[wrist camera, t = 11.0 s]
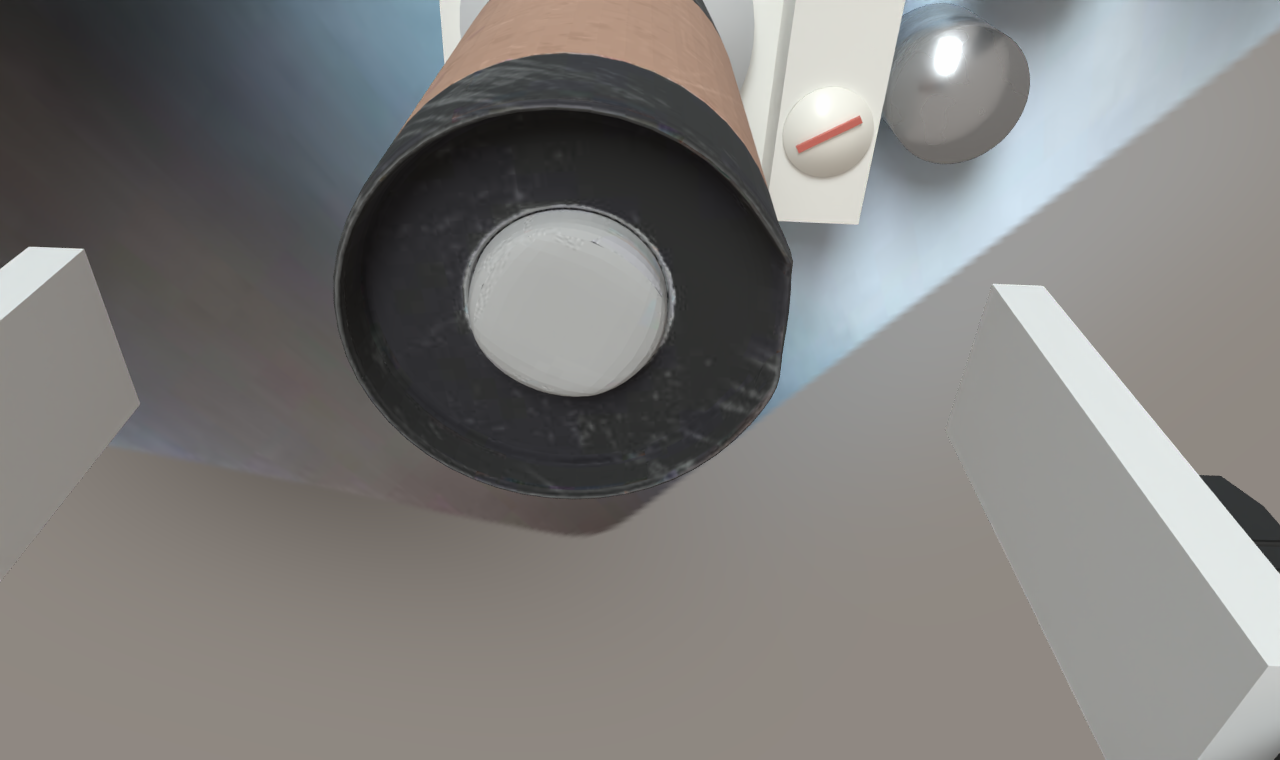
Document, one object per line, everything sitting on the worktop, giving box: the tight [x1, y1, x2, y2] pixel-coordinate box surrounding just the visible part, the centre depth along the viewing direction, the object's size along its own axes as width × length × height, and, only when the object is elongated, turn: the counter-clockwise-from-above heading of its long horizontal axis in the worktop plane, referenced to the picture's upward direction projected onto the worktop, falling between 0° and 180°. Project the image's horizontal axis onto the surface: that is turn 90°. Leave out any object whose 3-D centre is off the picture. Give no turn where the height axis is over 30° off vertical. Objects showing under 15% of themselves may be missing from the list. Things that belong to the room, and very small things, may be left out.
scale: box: [439, 0, 905, 225], centre depth 31 cm, size 16×14×6 cm
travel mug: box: [333, 0, 793, 499], centre depth 22 cm, size 8×8×20 cm
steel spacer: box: [881, 3, 1030, 164], centre depth 33 cm, size 5×5×4 cm
